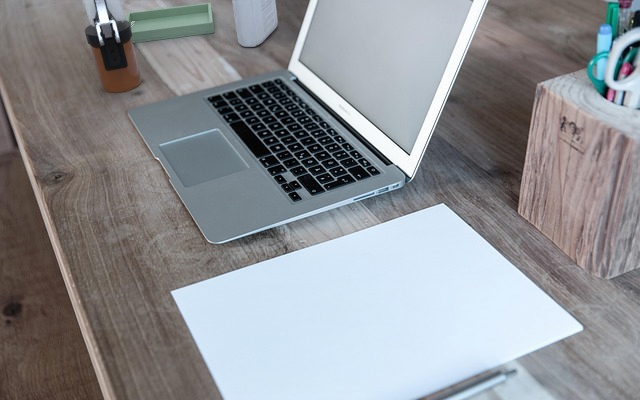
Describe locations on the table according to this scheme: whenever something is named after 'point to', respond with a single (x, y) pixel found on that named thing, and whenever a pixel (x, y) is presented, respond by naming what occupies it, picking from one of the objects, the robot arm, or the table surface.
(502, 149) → the table surface
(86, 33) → the lid
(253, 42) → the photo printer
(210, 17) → the tray
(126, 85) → the jar
